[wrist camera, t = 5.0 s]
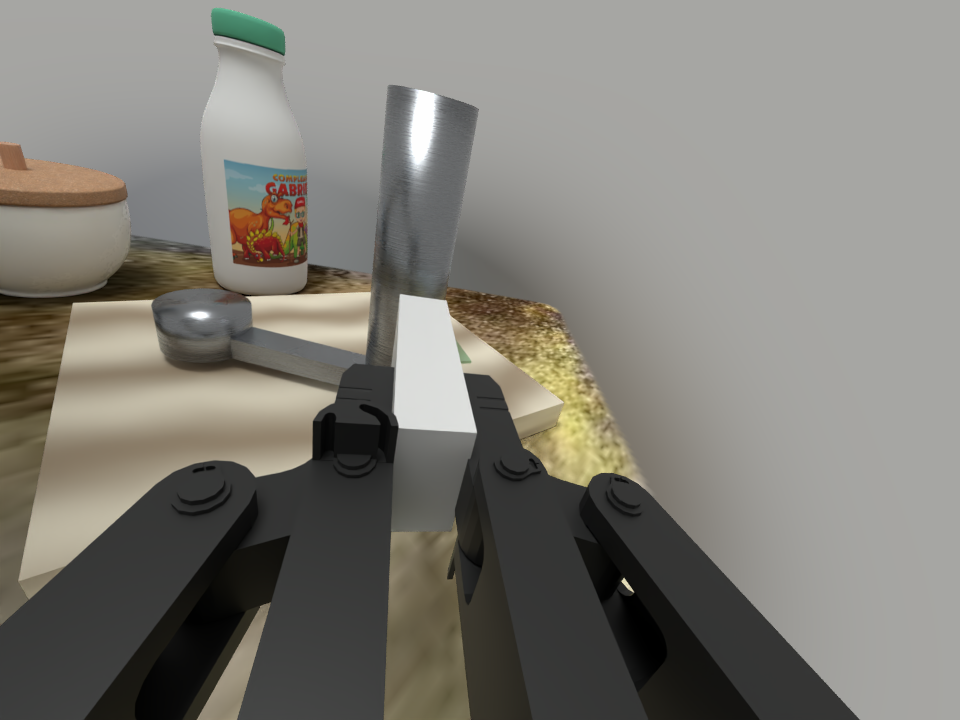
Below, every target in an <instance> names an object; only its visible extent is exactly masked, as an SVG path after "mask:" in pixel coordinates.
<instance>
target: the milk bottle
mask: <svg viewBox="0 0 960 720" xmlns="http://www.w3.org/2000/svg"><path fill="white" fill-rule="evenodd" d="M211 17H212V29H213V33H214V35H215V37H214V38H215V42H214V45H215V46H216V47H217V48H218V52H219V65H218V72H217V77H216V81H215V85H214V88H213V91H212V93H211V96H210V98H209V101H208V103H207V106H206V108H205V111H204V114H203V118H202V124H201V136H200V137H201V138H200V144H201V158H202V171H203V181H204V190H205V200H206V208H207V217H208V227H209V236H210V245H211V253H212V262H213V269H214V276H215V279H216V280H217V282H218V283H219V284H220V285H221V286H222V287H224V288H225V289H228V290H230V291H233V292H237V293H241V294H246V295H254V296H278V295H288V294H292V293H296V292H298V291H300V290H302V289H303V288H304V286H305V285H306V283H307V169H306V156H305V149H304V144H303V140H302V136H301V133H300V131H299V128H298V125H297V123H296V120H295V118H294V115H293V113H292V110H291V108H290V105H289V102H288V99H287V95H286V92H285V87H284V83H283V77H282V67H283V65H285V62H284V55H285V36H284V32H283V31H282V30H281V29H279V28H278V27H276V26H274V25H272V24H270V23H268V22H266V21H263V20H261V19H258V18H255V17H252V16H249V15H246V14H243V13H240V12H236V11H232V10H228V9H223V8H214V9H213V10H212V13H211Z"/></svg>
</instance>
